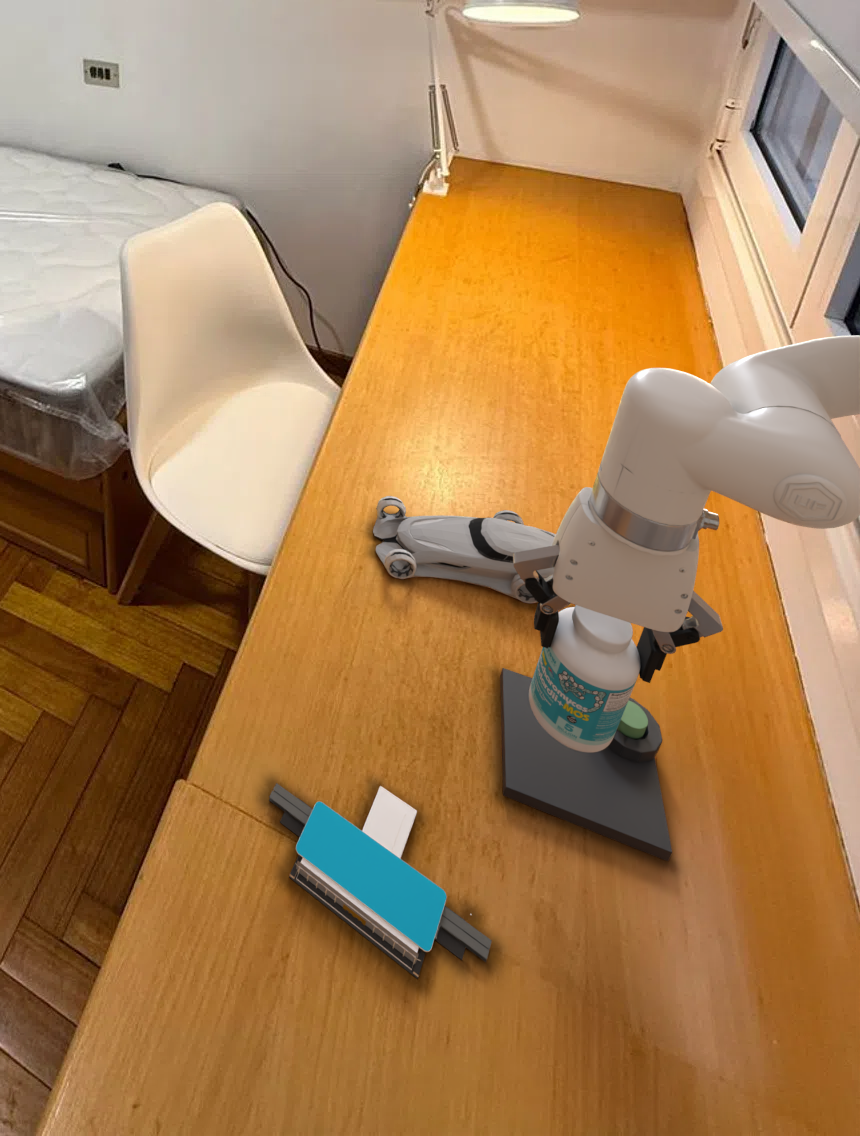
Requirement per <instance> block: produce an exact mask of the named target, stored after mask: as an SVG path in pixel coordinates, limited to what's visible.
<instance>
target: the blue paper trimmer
mask: <svg viewBox="0 0 860 1136" xmlns="http://www.w3.org/2000/svg"><path fill="white" fill-rule="evenodd" d="M268 801H269V802H271V803H272V804H273V805H274V806H276V807H277V808H278V809H280V810H281V811H283V814H282V816H281V818H280V820H279V824H281V825H283V826H284V827H285V828H287V829H288V830H289V831H290V832H292V833H293V834H295V836H297V837H298V840H297V842H296V845H295V851H296V854H297V857H296V861H295V862H294V864H293V866H292V867H291V870H290V872H289V875H288V878H289V879H290V880H292V881H293V882H294V883H295V884H296V885H298V886H299V887H300V888H302V889H303V890H304V891H306V893H308V894H309V895H311V896H312V897H314V899H316V900H317V901H318V902H319V903H321V905H323V906H324V907H326V908H327V909H328V910H330V911H331V912H332V913H333V914H334V915H336V916H337V917H338V918H339V919H341V920H342V921H344V922H345V923H346V924H347V925H348V926H350V927H351V928H352V929H353V930H354V931H356V932H357V933H359V934H360V935H361V936H362V937H364V938H365V939H366V940H367V941H369V942H370V943H371V944H372V945H373V946H375V947H376V948H377V949H379V950H380V951H381V952H383V953H384V954H385V955H386V956H388V957H389V958H390V959H391V960H393V961H394V962H395V963H396V964H397V965H399V966H400V967H401V968H403V969H404V970H405V971H406V972H408V973H409V974H410V975H411V976H413V977H414V978H415V979H417V980H419V976H420V973H421V969H422V966H423V963H424V960H425V956H426V954H427V953H429V952H431V951H432V948H433V945H434V941H435V942H437V943H438V944H439V945H441V946H442V947H443V948H444V949H446V950H447V951H449V952H450V953H451V954H452V955H454V956H455V957H457V958H458V959H459V960H461V961H463V958H464V955H465V951H466V949H467V950H468V951H469V952H471V953H472V954H474V955H475V956H476V957H478V958H479V959H481V961H483V962H485V963H487V960H488V957H489V954H490V949H491V946H492V941H493V940H492V939H490V938H489V937H488V936H486V934H484V933H482V932H481V931H479V930H478V929H477V928H475V927H474V926H473V925H471V924H470V923H469V922H467V921H466V919H464V918H463V917H461V916H460V915H459V914H458V913H456V912H455V911H453V910H452V909H451V908H449V907H448V906H447V905H446V903H447V893H446V891H445V890H444V889H443V888H442V887H440V885H437V884H436V883H435V882H434V881H433V880H431V879H429V878H428V877H427V876H425V875H424V874H423V873H421V872H420V871H418V870H417V869H415V868H414V867H413V866H412V865H410V864H409V863H407V862H406V861H405V860H403V859H402V856H403V852H404V850H405V847H406V845H407V842H408V838H409V837H410V834H411V830H412V828H413V825H414V822H415V819H416V817H417V814H418V810H417V809H415V807H412V806H411V805H409V804H408V803H407V802H405V801H404V800H402V799H401V798H399V797H398V796H396V795H395V794H393V793H392V792H391V791H389V790H388V789H386V788H385V787H383V786H381V785H380V786H379V787H378V790H377V793H376V795H375V798H374V799H373V802H372V805H371V808H370V810H369V811H368V812H369V813H368V815H367V817H366V819H365V822H364V825H363V827H362V829H360V828H359V827H358V826H356V825H355V824H353V823H352V822H350V821H349V820H348V819H346V818H345V817H344V816H342V815H341V814H339V813H338V812H337V811H336V810H334V809H332V808H331V807H330V806H328V805H327V804H326V803H324V802H322V801H319V800H318V801H316V802H315V804H314V805H313V808H312V807H311V806H310V805H308V804H307V803H306V802H304V801H303V800H301V799H300V798H299V797H296V796H295V795H294V794H292V792H289V790H287V789H286V788H284V787H282V786H281V785H280V784H279V783H277V782H276V783H275V784H274V787H273V789H272V790H271V792H270V795H269V800H268ZM469 915H470V916H473V915H472V913H470V914H469Z"/></svg>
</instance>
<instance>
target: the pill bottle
mask: <svg viewBox="0 0 860 1136" xmlns="http://www.w3.org/2000/svg"><path fill="white" fill-rule="evenodd" d="M558 614H559V623H558V626H557V629H556V632H555V635H554V638H553V641H552V644H551V647H548V648H545V647H542V648H541V651H540V654H539V658H538V661H537V663H536V667H535V670H534V673H533V676H532V678H533V679H532V682H531V685H530V689H529V701H530V705H531V709H532V711H533V713H534V715H535V717H536V719H537V720H538V722H539V723H540V725H541V726H542V727H543V728H544V729H545V730H546V731H547V732H548V733H549V734H550V735H551V736H552V737H553V738H554V739H556V740H557V741H559V742H560V743H562V744H563V745H565V746H567V747H569V748H571V749H574V750H577V751H581V752H590V753H591V752H598V751H601V750H603V749H605V748H606V747H607V746H608V745H609V744H610V743H611V741H612V740H613V737H614V735H615V733H616V730H617V728H618V725H619V723H620V720H621V718H622V715H623V713H624V710H625V708H626V705H627V703H628V700H629V698H631V695H632V693H633V690H634V688H635V685H636V683H637V680H638V677H639V676H640V675H639V672H640V667H641V663H640V656H639V652H638V650H637V645H636V643H635V641H634V640H633V636H634V634H633V633H634V630H633V624H632V623H630V622H626V621H623V620H620V619H617V618H614V617H611V616H608V615H604V614H601V613H598V612H595V611H592V610H589V609H586V608H583V607H580V606H577V605H575V604H574V606H571V607H565V608H562V609H561V610H559V611H558Z"/></svg>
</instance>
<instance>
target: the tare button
mask: <svg viewBox="0 0 860 1136" xmlns="http://www.w3.org/2000/svg"><path fill="white" fill-rule="evenodd" d="M647 725H648V719H647V716H646V714H645V713H644V711H643V710H642V709H641V708H640V707H639V706H638V705H636V704H635V703H633V702H631V701H629V700H628V703H627V705H626V708H625V710H624V713H623V715H622V718H621V720H620V723H619V725H618V728H617V729H618V730H619V731H620V732H621V733H622V734H624V735H625V736H627V737H630V738H633V739H638V738H641V737H642V736H643V735H644V733H645V730H646V728H647Z"/></svg>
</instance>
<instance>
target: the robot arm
mask: <svg viewBox="0 0 860 1136" xmlns="http://www.w3.org/2000/svg"><path fill="white" fill-rule="evenodd" d="M856 415H857V416H858V415H860V335H837V336H828V337H827V336H826V337H821V338H814V339H810V340H806V341H801V342H796V343H793V344H789V345H788V344H787V345H784V346H780V347H775V348H771V349H767V350H763V351H759V352H756V353H753V354H750V355H746V356H745V357H742V358H740V359H739V358H738V359H737V360H735V361H732V362H730V363H729V364H727V365H726V366H724V367H723V368H721V369H720V370H719V371H717V373H715V375H714V376H713V378H712V379H711V381H710V382H708V381H706V380H704V379H702V378H700V377H698V376H696V375H694V374H691V373H689V372H686V371H681V370H678V369H675V368H667V367H649V368H645V369H641V370H639V371H637V372H635V373H634V374H633V375H632V376H631V377H630V378H629V379H628V380H627V382H626V384H625V387H624V389H623V392H622V395H621V398H620V401H619V404H618V408H617V410H616V414H615V417H614V420H613V422H612V426H611V429H610V433H609V435H608V439H607V442H606V444H605V448H604V452H603V454H602V458H601V460H600V464H599V467H598V470H597V473H596V475H595V476H596V477H595V479H594V482H593V485H592V487H591V486H590V487H589V486H585V487H582V489H580V491H579V492H578V493H577V494H576V496H575V497H574V499H573V500H572V502H571V503H570V505H569V506H568V507H567V509H566V512H565V514H564V516H563V517H562V520H561V521H560V524H559V526H558V529H557V530H556V533H555V534H556V535H555V538H554V540H553V543H552V546H548V547H542V548H537V549H531V550H526V551H520V552H516V553H514V554H513V566H514V568H515V570H516V571H517V573H518V574H519V576H520V578H521V579H522V580H523V581H524V583H525V587H526V589H527V590H528V591H529V592H530V593H531V595H532V596H533V597H534V598H535V600H536V601H537V602H536V603H537V605H536V609H535V612H534V615H533V629H534V630H535V631H539V635H540V646H541V647H542V648H543V647H545V648H548V647H551V644H552V641H553V638H554V635H555V632H556V629H557V626H558V623H559V614H558V612H560V611H561V610H563V609H565V608H567V607H568V606H569V605H571V604H572V605H574V606H575V605H577V606H580V607H583V608H586V609H589V610H592V611H595V612H598V613H601V614H604V615H608V616H611V617H614V618H617V619H620V620H623V621H626V622H630V623H631V624H632V625H635V626H640V627H643V629H642V631H641V634H640V637H639V639H638V642H637V645H636V647H637V650H638V652H639V656H640V663H641V667H640V672H639V675H638V676H639V678H640V679H641V680H642V682H645V683H648V684H650V683H651V682H652V679H653V677H654V673H655V672H656V671H659V672H660V671H661V670H662V667H663V665H664V662H665V660H666V657H667V655H673V654H675V653H676V652H677V648H679V647H683V646H688V645H693V644H697V643H699V642H700V640H701V638H707V637H710V636H713V635H716V634H718V633H721V632H723V631H724V626H723V623H722V620H721V615H719V613H718V612H717V611H715V610H714V608H712V607H711V606H710V605H709V604H708V603H707V602H706V601H705V600H704V599H703V598H702V597H701V596H700V595H699V594H698V593H696V591H695V590H694V588H695V584H696V579H697V572H698V566H699V555H700V539H699V538H700V537H699V532H700V531H701V530H702V529H703V530H713V531H718V529H719V527H720V516H719V514H718V513H716V512H712V511H709V510H708V509H707V508H705V507H706V504H707V502H708V499H709V496H710V495H711V492H713V493H716V494H718V495H720V496H723V497H724V498H725V497H726V498H727V499H730V500H732V501H734V502H737V503H739V504H741V505H743V506H745V507H748V508H750V509H752V510H754V511H757V512H759V513H761V514H763V515H765V516H768V517H771V518H773V519H775V520H778V521H782V522H785V523H787V524H789V525H790V524H791V525H794V526H799V527H803V528H808V529H809V528H811V529H824V530H825V529H836V528H839V527H844V526H846V525H849V524H850V523H852V522H854V521H856V520H857V519H858V518H859V517H860V466H859V464H858V462H857V461H856V459H855V457H854V455H853V454H852V453H851V451H850V449H849V448H848V446H847V444H846V443H845V441H844V440H843V438H842V435H841V434H840V432H839V430H838V428H837V427H836V425H835V424H834V422H833V420H832V419H837V418H844V417H849V416H856ZM553 567H554V573H553V574H551V575H550V576H548V577H546V578H545V579H543V577H542V576H541V575H540V574H539V572H538V571H537V570H541V569H547V568H553ZM688 613H689V614H690V616H687V614H688Z"/></svg>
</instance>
